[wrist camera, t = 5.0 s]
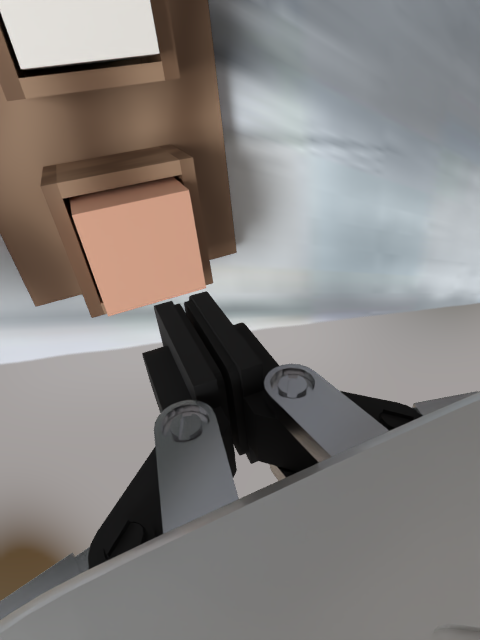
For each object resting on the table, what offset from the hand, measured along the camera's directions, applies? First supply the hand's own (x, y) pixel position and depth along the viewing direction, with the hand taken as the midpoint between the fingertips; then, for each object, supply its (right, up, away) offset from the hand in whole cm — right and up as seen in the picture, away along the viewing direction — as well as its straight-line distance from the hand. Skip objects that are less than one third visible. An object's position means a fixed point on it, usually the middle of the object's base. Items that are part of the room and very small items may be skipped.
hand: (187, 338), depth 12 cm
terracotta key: (-5, +7, +13) cm, 16 cm away
